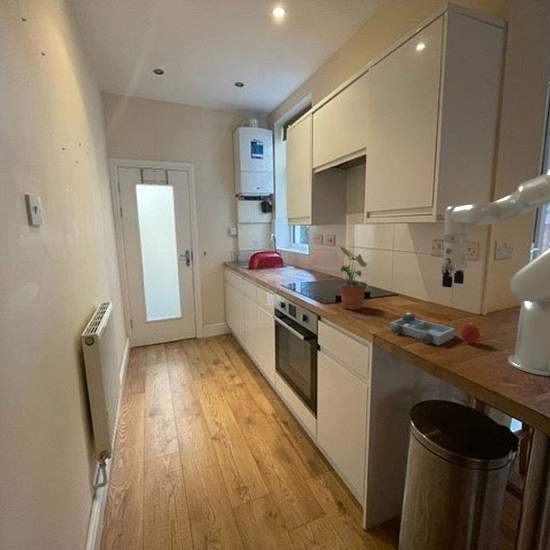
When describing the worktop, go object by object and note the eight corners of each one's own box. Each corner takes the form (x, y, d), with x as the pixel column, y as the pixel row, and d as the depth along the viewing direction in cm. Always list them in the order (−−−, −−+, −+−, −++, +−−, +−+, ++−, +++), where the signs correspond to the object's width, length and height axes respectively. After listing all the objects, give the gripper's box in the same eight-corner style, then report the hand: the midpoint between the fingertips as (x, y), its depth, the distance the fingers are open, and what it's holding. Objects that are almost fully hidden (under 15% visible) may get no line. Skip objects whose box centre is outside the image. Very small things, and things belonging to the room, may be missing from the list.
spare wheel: (417, 319, 126) (417, 313, 126) (411, 321, 123) (411, 316, 123) (406, 316, 130) (406, 311, 130) (400, 318, 127) (400, 313, 127)
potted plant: (337, 311, 156) (338, 243, 151) (338, 303, 171) (339, 241, 165) (368, 313, 153) (371, 243, 147) (367, 305, 167) (369, 241, 161)
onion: (470, 347, 110) (472, 326, 109) (456, 341, 115) (458, 321, 114) (482, 345, 112) (484, 324, 110) (468, 339, 117) (470, 319, 116)
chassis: (456, 336, 120) (457, 326, 120) (435, 347, 110) (436, 336, 110) (408, 323, 136) (409, 315, 135) (386, 332, 126) (387, 322, 126)
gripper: (456, 240, 104) (453, 289, 106) (476, 238, 114) (473, 283, 117) (433, 240, 110) (431, 287, 112) (454, 238, 120) (452, 281, 123)
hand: (452, 285), depth 114 cm, fingers open, 9 cm apart
